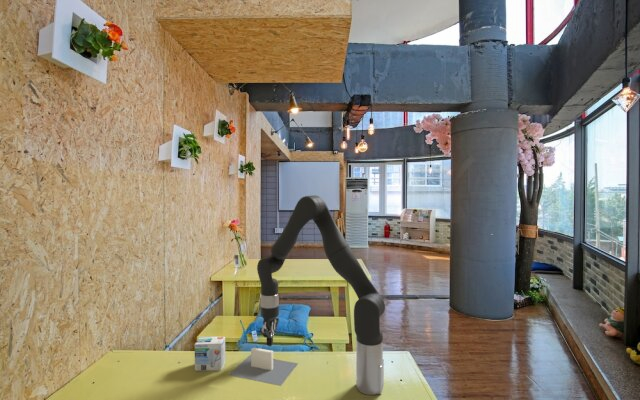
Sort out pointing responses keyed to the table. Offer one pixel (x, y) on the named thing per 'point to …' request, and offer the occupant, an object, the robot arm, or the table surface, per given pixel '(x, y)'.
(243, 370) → the mat
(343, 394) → the table surface
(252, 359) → the card deck
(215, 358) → the light bulb box
